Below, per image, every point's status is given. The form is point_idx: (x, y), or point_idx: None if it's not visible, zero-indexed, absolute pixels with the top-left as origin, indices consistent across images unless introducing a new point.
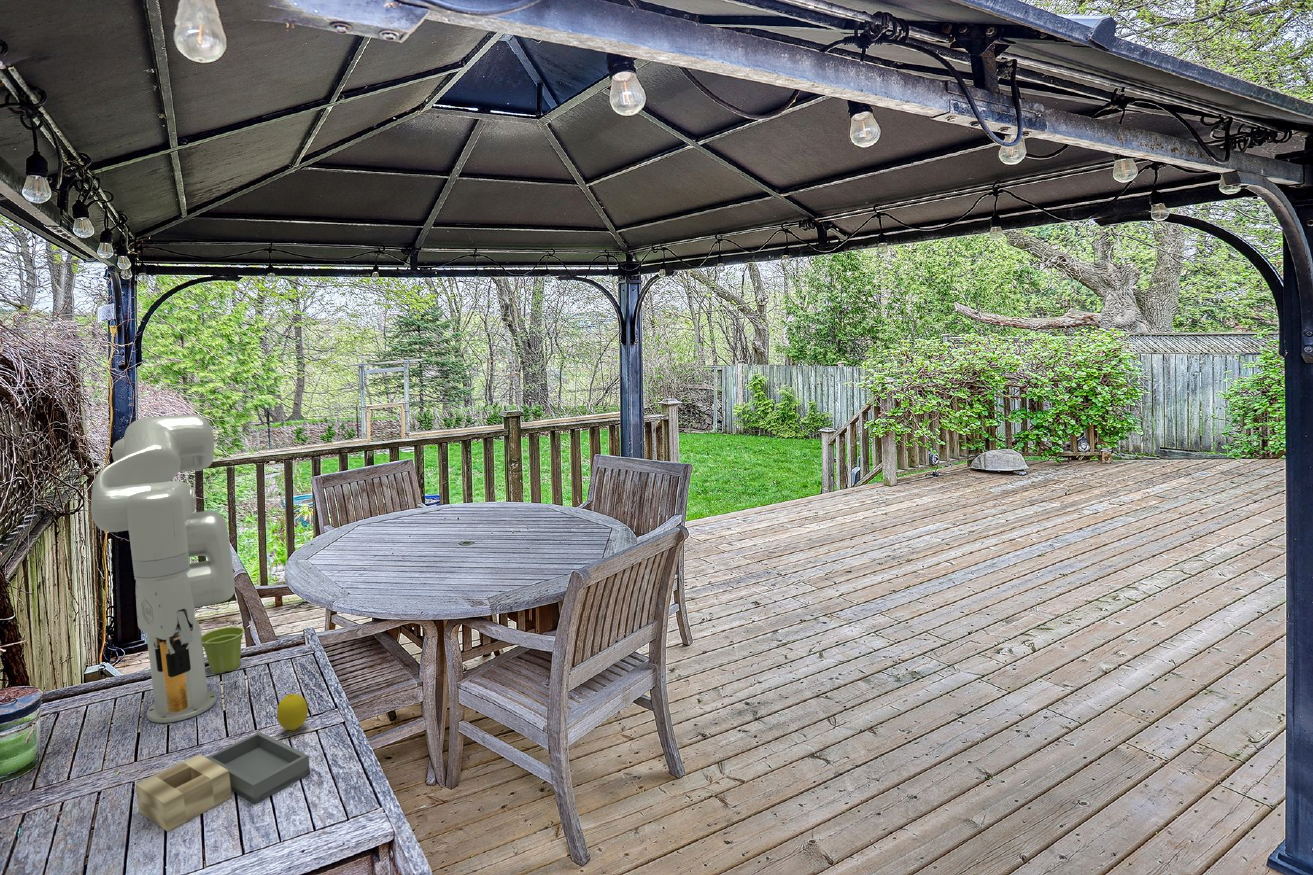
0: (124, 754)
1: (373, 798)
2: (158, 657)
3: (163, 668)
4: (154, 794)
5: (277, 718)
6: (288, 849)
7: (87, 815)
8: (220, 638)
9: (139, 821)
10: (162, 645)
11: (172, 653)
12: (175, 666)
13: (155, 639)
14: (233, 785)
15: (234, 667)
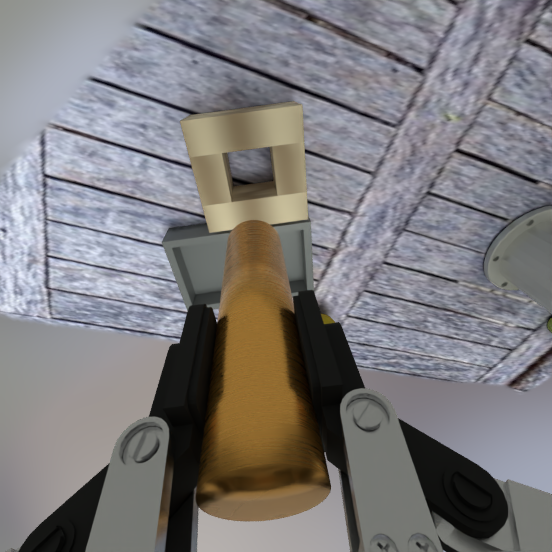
0: (497, 143)
1: (76, 318)
2: (304, 348)
3: (250, 316)
4: (230, 118)
5: (326, 319)
6: (18, 219)
7: (363, 25)
8: None
9: (260, 91)
10: (232, 456)
11: (126, 435)
12: (173, 358)
13: (365, 464)
14: None
15: (549, 325)
